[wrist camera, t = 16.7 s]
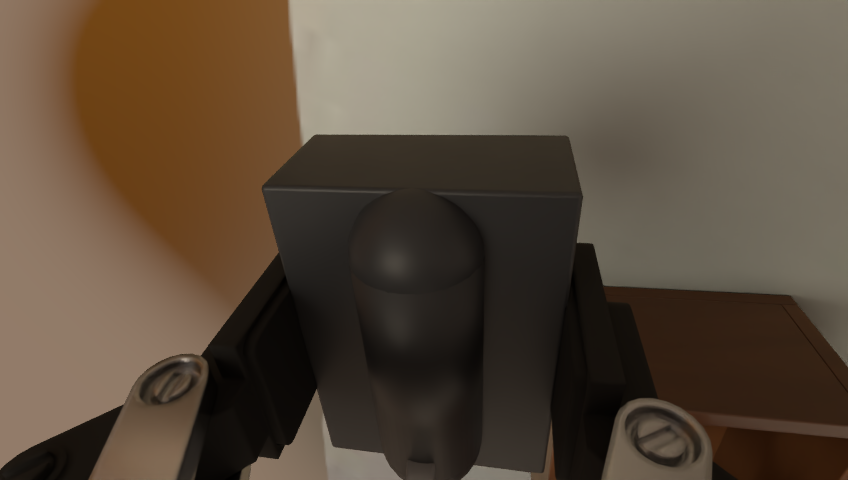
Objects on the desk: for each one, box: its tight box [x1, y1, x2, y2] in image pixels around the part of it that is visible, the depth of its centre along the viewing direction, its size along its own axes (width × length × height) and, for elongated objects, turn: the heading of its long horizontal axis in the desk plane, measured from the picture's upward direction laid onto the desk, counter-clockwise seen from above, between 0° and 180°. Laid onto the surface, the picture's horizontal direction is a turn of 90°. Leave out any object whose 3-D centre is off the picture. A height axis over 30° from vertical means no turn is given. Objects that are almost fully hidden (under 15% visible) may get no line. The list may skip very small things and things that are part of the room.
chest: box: [531, 286, 848, 480], centre depth 26 cm, size 16×13×8 cm
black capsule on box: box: [262, 135, 583, 480], centre depth 10 cm, size 8×5×4 cm
